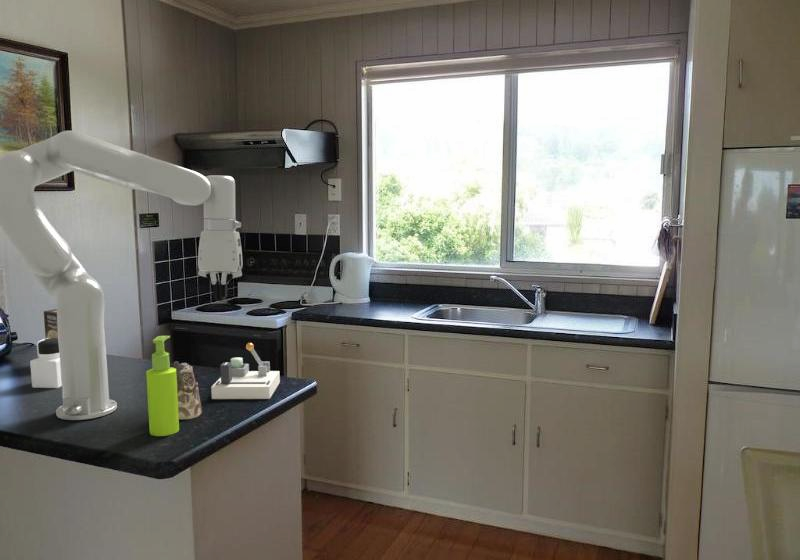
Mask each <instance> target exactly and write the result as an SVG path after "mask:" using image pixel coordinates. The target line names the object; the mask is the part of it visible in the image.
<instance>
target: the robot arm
mask: <svg viewBox="0 0 800 560" xmlns="http://www.w3.org/2000/svg"><path fill="white" fill-rule="evenodd" d="M71 172H75V173H77V174H82V175H84V176H87V177H91V178H93V179H96V180H100V181H102V182H107V183H109V184H112V185H114V186H117V187H118V186H119V187H123V188H125V189H126V188H127V189H131V190H137V191H144V192H149V193H154V194H157V195H160V196H164V197H167V198H170V199H172V200H173V201H174V202H175V203H177V204H180V205H184V206H200V205H202V204H203V230H202V231H201V232H200V236H199V245H198V251H197V253H198V254H197V267H198V273H197V275H198V276H200V277H203V278H207V279H208V280H209V282H211V285H213V286H212V287H213V288H212V289H213V297H214V299H215V301H219V302H222V301H224V300H226V298H227V297H228V284H229V282H230V281H232V279H235V278H236V279H237V278H240V277H242V276H243V271H242V269H243V251H242V243H241V242H242V241H241V236H240V232H239V231H236V230H237V229H238V228H242V222H241V221H237V218H236V181H235V179H234V178H233V177H232V176H231V175H220V174H219V175H214V174H213V175H211V174H210V175H206V176H205V175H203V174H201V173H199V172H197V171H195V170H191V169H189V168H186V167H183V166H180V165H177V164H173V163H171V162H168V161H164V160H162V159H159V158H154V157H153V156H149V155H147V154H144V153H142V152H141V153H140V152H139V151H134V150H130V149H129V148H126V147H123V146H119V145H117V144H113V143H111V142H108V141H105V140H102V139H100V138H97V137H94V136H91V135H88V134H86V133H83V132H79V131H76V130H64V131H63V130H62V131H61V132H58V133H57V134H56V135H54V136H51V137H49V138H47V139H44V140H42V141H39V142H37V143H34V144H31V145H29V146H26V147H23V148H20V149H18V150H11V151H8V152H5V153H4V154H2V155H1V156H0V229H1V230H2V231H3V233H4V234H5V235H6V237H7V238H8V240H9V241H10V243H11V244H12V245H13V247H15V249H16V250H17V252H18V253H19V254H20V256H21V260H22V261H23V263H24V264H25V266H26V267H27V268H28V270H29V271H30V272H31V274H32V275H33V276H34V277H35V279H36V280H37V281H38V283H39V284H40V285H41V287H42V288H43V289H44V290H45V291H46V292H47V294H48V295H49V296H50V298H51V299H52V300H53V302H55V305H56V306H55V307H56V309H57V326H58V343H59V354H60V368H61V381H62V386H61V391H62V393H61V394H62V405H60V406H59V407H57V408H56V410H55V415H56V417H57V418H58V419H61V420H67V421H83V420H91V419H96V418H99V417H104V416H107V415H109V414H111V413H113V412H114V411H116V410H117V408H118V403H117V401H116V400H113V399H110V391H109V390H110V389H109V378H108V377H109V376H108V374H109V373H108V363H107V362H108V361H107V346H106V345H107V344H106V335H105V332H106V331H105V310H106V309H105V306H106V304H105V302H106V301H105V295H104V291H103V288H102V286H101V284H100V283H99V282H98V281H97V280H96V279H95V278H93V276H91V275H90V274H89V273H88V272H87V270H86V269H85V268H84V267H83V265H82V264H81V262H80V261H79V260H78V259H77V258H76V256H75V254H74V253H73V252H72V250H71V247H70V245H69V243H68V242H67V241H66V240H65V239H64V237H62V236H61V234H59V232H58V231H57V230H56V229H55V227H54V226H53V225H52V223H51V222H50V221H49V219H47V216H46V215H45V213H44V211H42V209H41V208H40V207H39V205H38V203H37V202H36V198H35V188H36V187H37V186H39V185H41V184H45V183H47V182H50V181H53V180H54V179H57V178H60V177H62V176H64V175H66V174H69V173H71ZM219 273H221V278H220V275H219ZM220 279H221V280H220Z"/></svg>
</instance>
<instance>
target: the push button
mask: <svg viewBox="0 0 800 560" xmlns="http://www.w3.org/2000/svg"><path fill="white" fill-rule="evenodd" d="M243 359H244V358H243V357H239V356H238V357H232V358H230V362H231V364H232V368H243V364H244V360H243Z"/></svg>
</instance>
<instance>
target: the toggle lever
mask: <svg viewBox="0 0 800 560" xmlns="http://www.w3.org/2000/svg"><path fill="white" fill-rule="evenodd" d="M254 347H255V345H254V344H253V343H252V342H248V343H247V344H246V346H245V348H246V350H248V351H249V352H250V353H251V355H252V356H253V357H254V359H255V361H256V362H257V364H258V366H267V365H264V364H263V363H262V362H263V361H262V360H261V358H260V357H259V355H258V354H257V351H256V350H255V349H254ZM267 370H268V366H267Z"/></svg>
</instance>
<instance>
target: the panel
mask: <svg viewBox="0 0 800 560" xmlns="http://www.w3.org/2000/svg"><path fill="white" fill-rule="evenodd" d="M262 363H263V364H264V365H267V366H268V370H267V366H259V365H258V366H257V370H258V371H257V370H251V371H250V364H249V363H243V368H232V380H231V382H230V383H221V376H220V377H219V378H218V380H216V382H215V383H213V384H212V385H211V388H210V389H211V390H210V391H211V400H270V399H271V397H272V396H273V394H274V392H275V391H276V390H277V388H278V386H279V384H280V383H281V378H280V377H281V376H280V370H271V365H270V364H271V363H270V361H262Z"/></svg>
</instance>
